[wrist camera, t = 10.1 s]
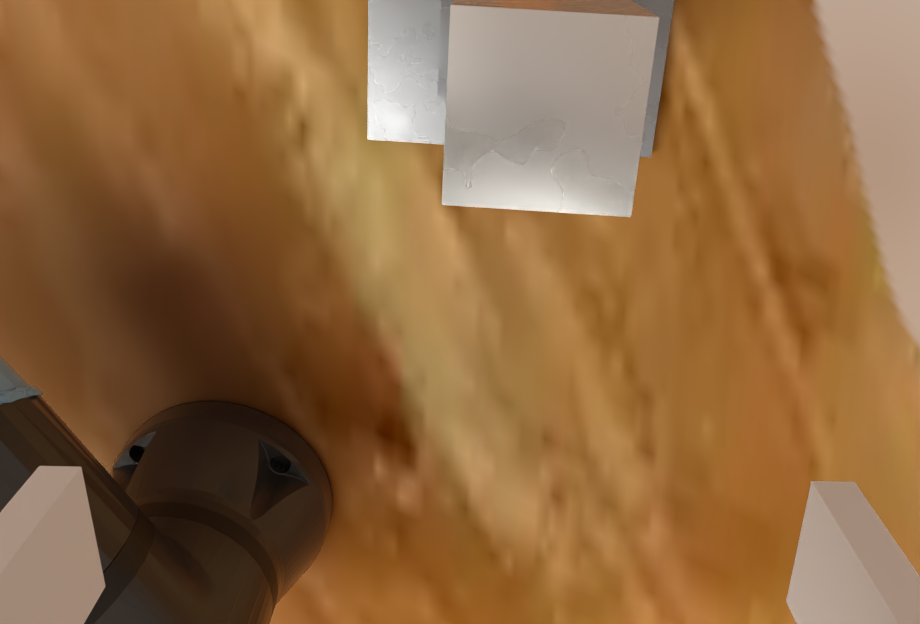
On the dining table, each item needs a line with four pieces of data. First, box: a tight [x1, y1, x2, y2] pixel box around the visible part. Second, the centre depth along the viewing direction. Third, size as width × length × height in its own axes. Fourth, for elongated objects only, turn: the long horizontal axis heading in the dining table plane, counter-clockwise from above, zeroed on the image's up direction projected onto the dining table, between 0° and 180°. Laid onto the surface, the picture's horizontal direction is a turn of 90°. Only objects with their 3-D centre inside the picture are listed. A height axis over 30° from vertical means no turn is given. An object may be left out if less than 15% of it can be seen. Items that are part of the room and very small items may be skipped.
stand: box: [368, 0, 674, 157], centre depth 40 cm, size 16×16×12 cm
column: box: [442, 0, 659, 217], centre depth 27 cm, size 5×5×22 cm
